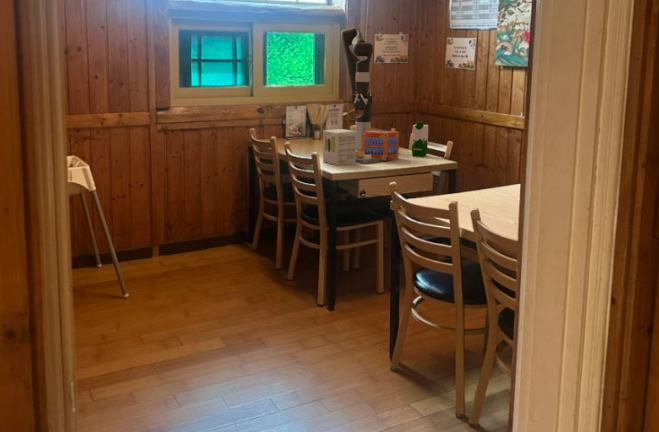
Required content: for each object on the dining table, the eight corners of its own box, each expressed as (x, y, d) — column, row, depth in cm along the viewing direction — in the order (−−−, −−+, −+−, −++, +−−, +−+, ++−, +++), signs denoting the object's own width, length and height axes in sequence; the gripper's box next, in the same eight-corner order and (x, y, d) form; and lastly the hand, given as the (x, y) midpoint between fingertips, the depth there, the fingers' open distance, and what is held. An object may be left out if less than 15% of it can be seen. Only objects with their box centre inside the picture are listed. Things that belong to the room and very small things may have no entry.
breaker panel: (357, 158, 405) (357, 151, 404) (379, 162, 391) (379, 155, 390) (342, 159, 398) (342, 152, 397) (363, 164, 384) (364, 156, 384)
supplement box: (322, 162, 390) (322, 130, 386) (341, 160, 398) (341, 128, 394) (337, 165, 380) (337, 132, 376) (356, 163, 388) (356, 131, 384)
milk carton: (410, 156, 413) (411, 122, 408) (413, 154, 421) (414, 120, 417) (425, 157, 410) (426, 122, 406) (428, 155, 419) (429, 121, 414)
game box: (361, 159, 401) (361, 131, 398) (374, 157, 414) (375, 130, 411) (386, 161, 393) (386, 132, 390) (398, 158, 406) (399, 131, 403)
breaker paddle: (362, 156, 397) (361, 151, 397) (365, 155, 395) (364, 150, 395) (356, 157, 394) (354, 152, 394) (358, 156, 392) (357, 151, 392)
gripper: (376, 81, 381) (375, 111, 385) (359, 80, 392) (358, 109, 396) (365, 81, 377) (365, 112, 381) (348, 80, 388) (348, 110, 391)
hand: (361, 111), depth 388 cm, fingers open, 8 cm apart
